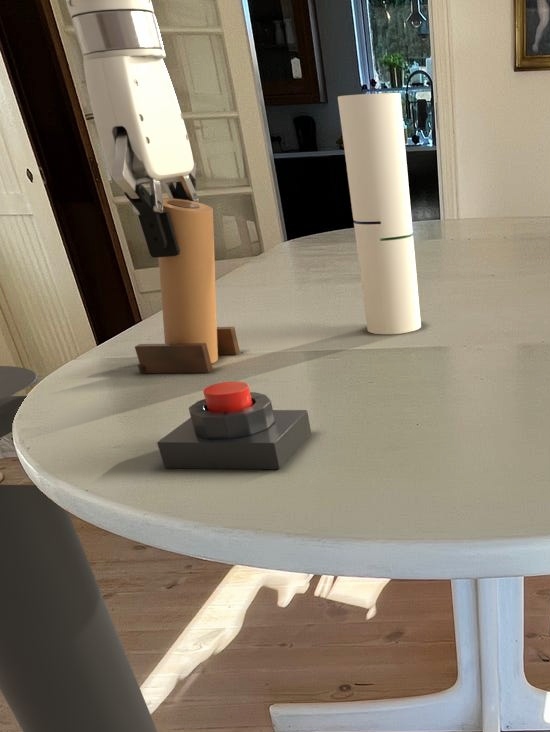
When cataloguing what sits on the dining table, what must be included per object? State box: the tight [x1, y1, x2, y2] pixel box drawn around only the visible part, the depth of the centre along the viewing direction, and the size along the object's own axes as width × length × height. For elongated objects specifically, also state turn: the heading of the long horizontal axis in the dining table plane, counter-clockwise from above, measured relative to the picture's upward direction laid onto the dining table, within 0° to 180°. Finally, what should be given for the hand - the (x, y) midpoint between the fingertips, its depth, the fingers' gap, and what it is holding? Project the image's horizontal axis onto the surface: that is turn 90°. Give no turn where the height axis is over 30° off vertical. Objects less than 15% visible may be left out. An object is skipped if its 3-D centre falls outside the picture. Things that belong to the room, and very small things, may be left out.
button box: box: [156, 391, 312, 470], centre depth 62 cm, size 10×8×4 cm
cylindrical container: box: [337, 92, 422, 335], centre depth 91 cm, size 7×7×25 cm
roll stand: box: [134, 326, 241, 374], centre depth 87 cm, size 8×9×3 cm
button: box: [202, 381, 253, 413], centre depth 61 cm, size 4×4×2 cm
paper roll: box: [158, 197, 219, 364], centre depth 83 cm, size 6×6×16 cm
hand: (180, 249), depth 81 cm, fingers closed on paper roll, 5 cm apart
